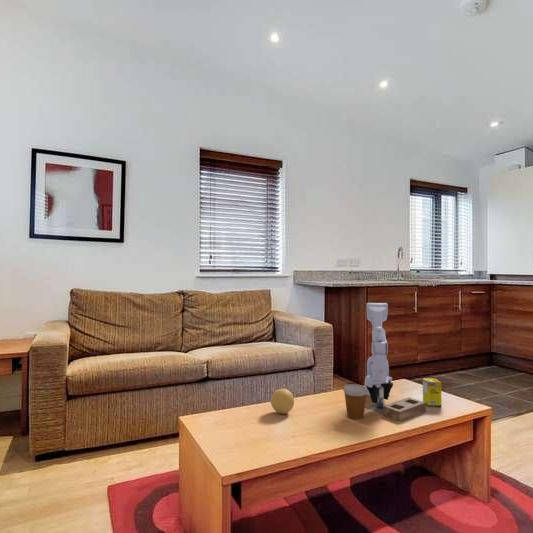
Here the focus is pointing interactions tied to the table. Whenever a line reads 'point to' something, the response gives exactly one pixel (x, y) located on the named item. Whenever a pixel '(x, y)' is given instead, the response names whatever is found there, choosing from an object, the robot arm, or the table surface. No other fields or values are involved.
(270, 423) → the table surface
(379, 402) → the peg
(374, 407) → the mat
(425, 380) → the supplement box
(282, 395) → the stress ball
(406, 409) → the socket block
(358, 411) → the disposable coffee cup
